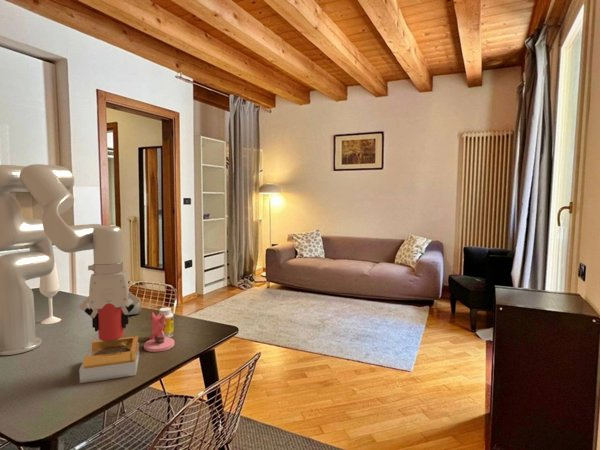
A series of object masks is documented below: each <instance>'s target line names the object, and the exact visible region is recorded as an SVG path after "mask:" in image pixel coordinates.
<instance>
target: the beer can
mask: <svg viewBox="0 0 600 450" xmlns="http://www.w3.org/2000/svg"><path fill="white" fill-rule="evenodd" d="M107 302H110V301H107ZM97 313H98V331H97V332H98V340H101V341H114V340H117V339H119V338H123V336H124V334H125V331H124V329H125V328H123V323H122V315H123V311H122V309H121V308H116V307H115V306H114V305H113V304H110V303H108V304H105V305H104V306H103V308H102V309H99V310H98V312H97Z"/></svg>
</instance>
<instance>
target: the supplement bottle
mask: <svg viewBox="0 0 600 450" xmlns="http://www.w3.org/2000/svg"><path fill="white" fill-rule="evenodd" d="M163 313H164V315H165V317H166V318H165V322H166V323H165V329H164V331H163V328H162V331H163V332H164V336H166V337H168V338H172V337H173V336H174V332H175V331H174V330H175V328H174V313H173V312H172V308H171V307H161V308H160V309H159V313H158V314H157V315H156V316H159V314H162V315H163ZM162 315H161V316H162Z"/></svg>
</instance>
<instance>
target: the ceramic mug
mask: <svg viewBox="0 0 600 450" xmlns="http://www.w3.org/2000/svg"><path fill="white" fill-rule="evenodd" d="M136 297H137V298H139V299H140V301H139V303H138V304H137V305H136V306H135V307H134V308H133V309H132V310H131V311H130V312H129V313H128V316H133V315H139V314H140V313H141V312H142V300H141V297H140V296H139V297H138V296H136ZM132 302H133V301H132V300H131V299H130V298H129V302H128V305H127V306H129V305H130V304H132Z"/></svg>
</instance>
